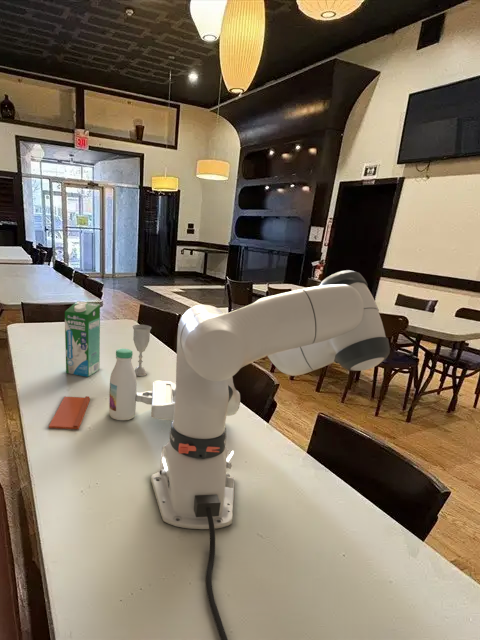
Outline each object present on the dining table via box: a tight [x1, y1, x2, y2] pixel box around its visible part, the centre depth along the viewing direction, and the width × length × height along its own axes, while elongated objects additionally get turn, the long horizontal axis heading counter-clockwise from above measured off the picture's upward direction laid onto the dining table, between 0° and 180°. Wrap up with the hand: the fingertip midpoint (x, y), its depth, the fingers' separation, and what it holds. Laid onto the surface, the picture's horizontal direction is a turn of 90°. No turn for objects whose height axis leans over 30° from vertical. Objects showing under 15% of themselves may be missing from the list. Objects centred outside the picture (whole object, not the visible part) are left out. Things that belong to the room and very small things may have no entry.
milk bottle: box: [108, 348, 138, 421], centre depth 118 cm, size 8×8×20 cm
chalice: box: [132, 324, 152, 377], centre depth 152 cm, size 7×7×18 cm
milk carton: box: [64, 300, 101, 378], centre depth 149 cm, size 9×9×25 cm
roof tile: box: [48, 395, 91, 430], centre depth 121 cm, size 20×8×1 cm, turn 2°
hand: (136, 396), depth 120 cm, fingers closed, pressing on milk bottle
